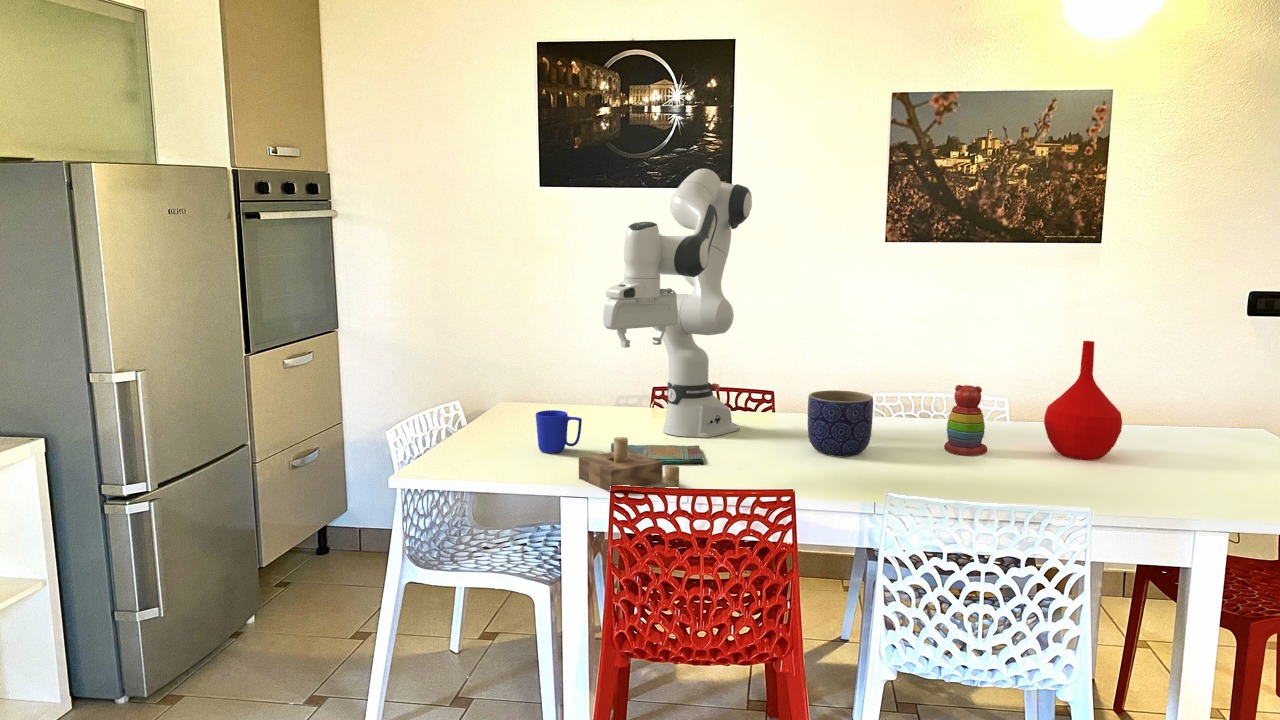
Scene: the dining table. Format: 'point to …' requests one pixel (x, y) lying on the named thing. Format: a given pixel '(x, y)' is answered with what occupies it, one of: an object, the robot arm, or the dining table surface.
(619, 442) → the long dowel
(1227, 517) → the dining table surface
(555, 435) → the mug
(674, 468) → the short dowel
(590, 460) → the hole block
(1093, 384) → the vase
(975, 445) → the stacking bear
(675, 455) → the dish towel
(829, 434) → the planter
